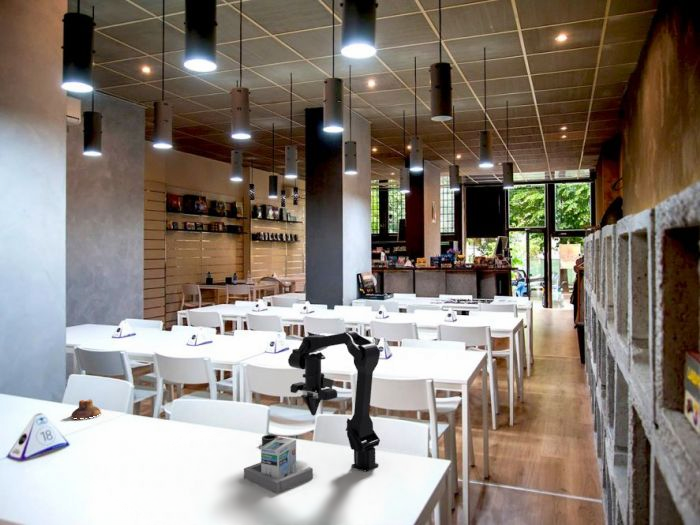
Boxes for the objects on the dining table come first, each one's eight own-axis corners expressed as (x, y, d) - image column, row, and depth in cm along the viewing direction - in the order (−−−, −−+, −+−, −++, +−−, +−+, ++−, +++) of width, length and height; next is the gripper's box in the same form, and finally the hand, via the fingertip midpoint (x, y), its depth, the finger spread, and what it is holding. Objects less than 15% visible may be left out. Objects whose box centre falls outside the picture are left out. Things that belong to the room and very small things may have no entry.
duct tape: (285, 441, 197) (285, 434, 197) (272, 451, 188) (272, 442, 188) (267, 439, 200) (267, 431, 200) (253, 448, 191) (253, 440, 191)
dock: (312, 478, 164) (312, 468, 164) (277, 493, 154) (277, 482, 154) (279, 464, 175) (279, 455, 175) (244, 478, 165) (243, 468, 165)
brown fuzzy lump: (64, 420, 227) (64, 403, 227) (83, 412, 239) (83, 395, 239) (89, 421, 225) (89, 404, 225) (107, 413, 237) (106, 396, 237)
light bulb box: (279, 486, 158) (279, 450, 158) (260, 482, 161) (259, 447, 161) (297, 473, 168) (296, 438, 168) (278, 469, 171) (278, 436, 171)
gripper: (348, 371, 188) (348, 415, 188) (311, 364, 201) (312, 405, 201) (325, 376, 180) (326, 422, 180) (289, 369, 193) (289, 412, 193)
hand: (313, 415), depth 189 cm, fingers closed
